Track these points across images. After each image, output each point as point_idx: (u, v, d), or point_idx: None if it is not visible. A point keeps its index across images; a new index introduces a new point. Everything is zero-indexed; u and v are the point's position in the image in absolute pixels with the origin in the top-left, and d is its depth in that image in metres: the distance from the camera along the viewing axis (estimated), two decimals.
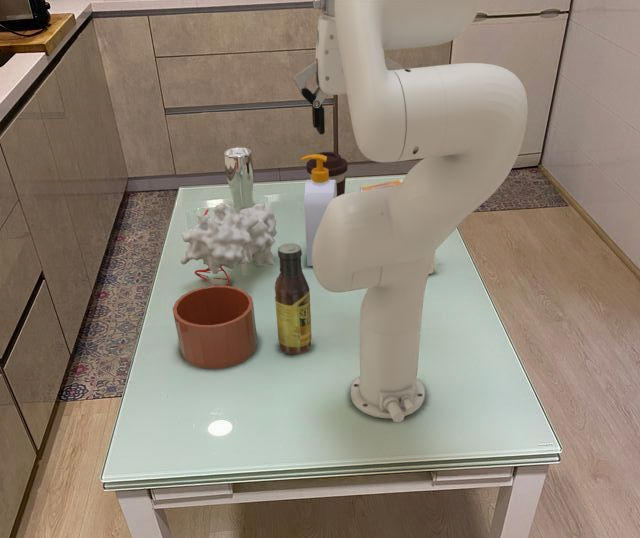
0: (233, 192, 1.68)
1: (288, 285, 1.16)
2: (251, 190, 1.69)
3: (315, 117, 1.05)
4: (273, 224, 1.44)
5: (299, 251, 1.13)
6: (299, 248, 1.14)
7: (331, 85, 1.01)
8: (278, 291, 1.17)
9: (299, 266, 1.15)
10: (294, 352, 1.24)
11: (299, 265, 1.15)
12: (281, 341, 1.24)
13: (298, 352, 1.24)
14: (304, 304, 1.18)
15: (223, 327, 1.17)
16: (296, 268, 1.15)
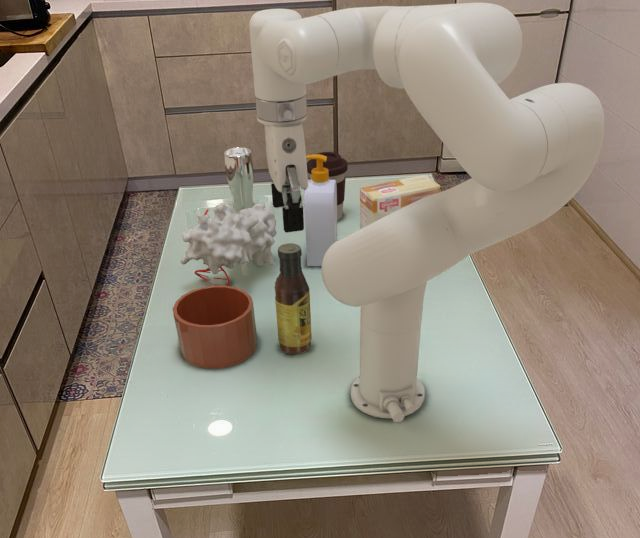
0: (233, 192, 1.68)
1: (288, 285, 1.16)
2: (251, 190, 1.69)
3: (298, 217, 1.05)
4: (273, 224, 1.44)
5: (299, 251, 1.13)
6: (299, 248, 1.14)
7: None
8: (278, 291, 1.17)
9: (299, 266, 1.15)
10: (294, 352, 1.24)
11: (299, 265, 1.15)
12: (281, 341, 1.24)
13: (298, 352, 1.24)
14: (304, 304, 1.18)
15: (223, 327, 1.17)
16: (296, 268, 1.15)
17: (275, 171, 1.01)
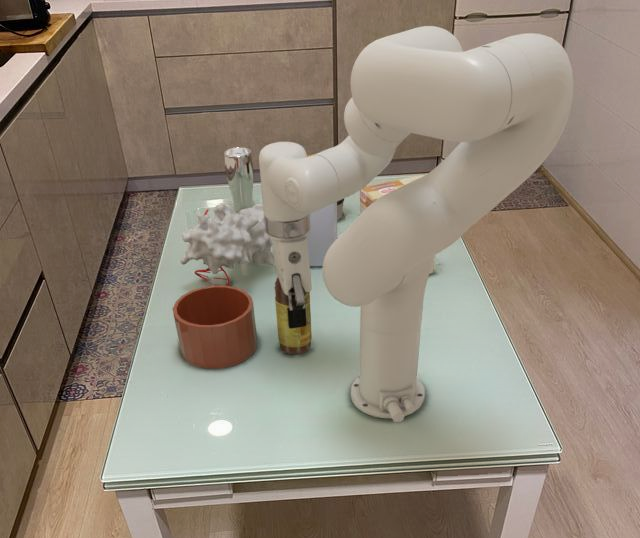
0: (233, 192, 1.68)
1: None
2: (251, 190, 1.69)
3: (302, 316, 1.18)
4: None
5: None
6: None
7: None
8: (278, 291, 1.17)
9: None
10: (294, 352, 1.24)
11: None
12: (281, 341, 1.24)
13: (298, 352, 1.24)
14: None
15: (223, 327, 1.17)
16: None
17: (282, 278, 1.13)
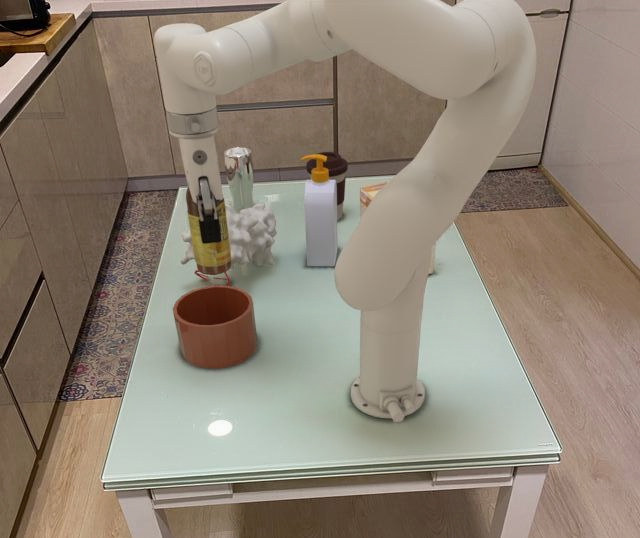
0: (233, 192, 1.68)
1: (198, 194, 1.06)
2: (251, 190, 1.69)
3: (214, 229, 1.08)
4: (273, 224, 1.44)
5: None
6: None
7: None
8: (188, 200, 1.07)
9: None
10: (211, 272, 1.14)
11: None
12: (197, 260, 1.13)
13: (215, 273, 1.14)
14: (218, 216, 1.08)
15: (223, 327, 1.17)
16: None
17: (189, 182, 1.02)
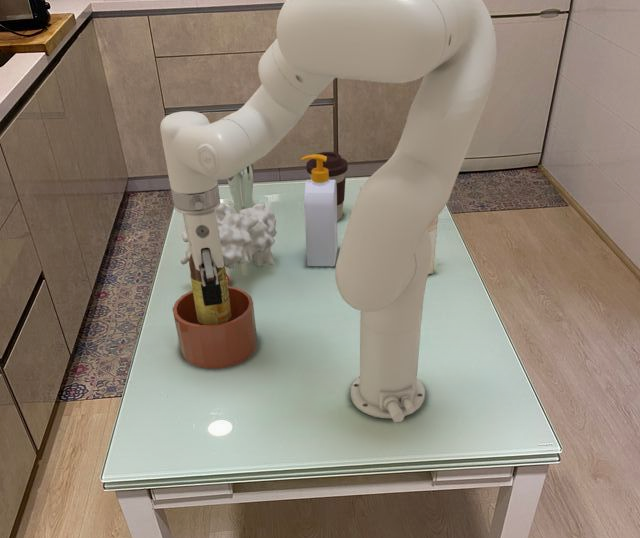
0: (233, 192, 1.68)
1: None
2: (251, 190, 1.69)
3: (216, 293, 1.15)
4: (273, 224, 1.44)
5: None
6: None
7: None
8: (191, 267, 1.15)
9: None
10: None
11: None
12: (199, 319, 1.21)
13: None
14: (219, 281, 1.16)
15: (223, 327, 1.17)
16: None
17: (192, 253, 1.10)
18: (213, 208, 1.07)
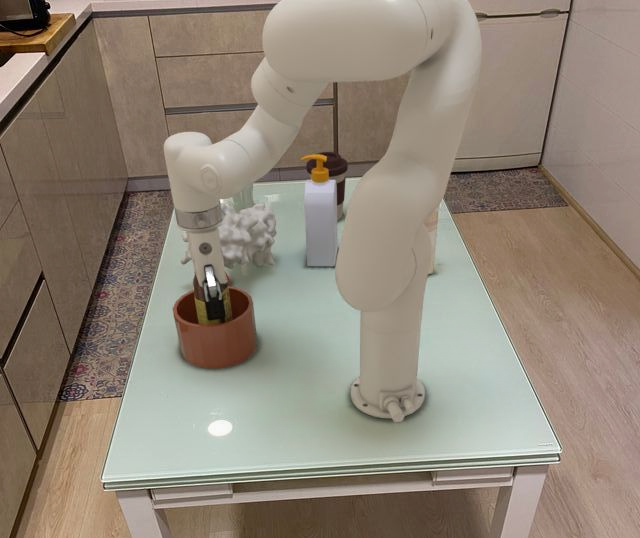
0: None
1: None
2: (251, 190, 1.69)
3: (219, 308, 1.16)
4: (273, 224, 1.44)
5: None
6: None
7: None
8: (195, 287, 1.17)
9: None
10: None
11: None
12: None
13: None
14: None
15: (223, 327, 1.17)
16: None
17: (195, 269, 1.12)
18: (216, 226, 1.09)
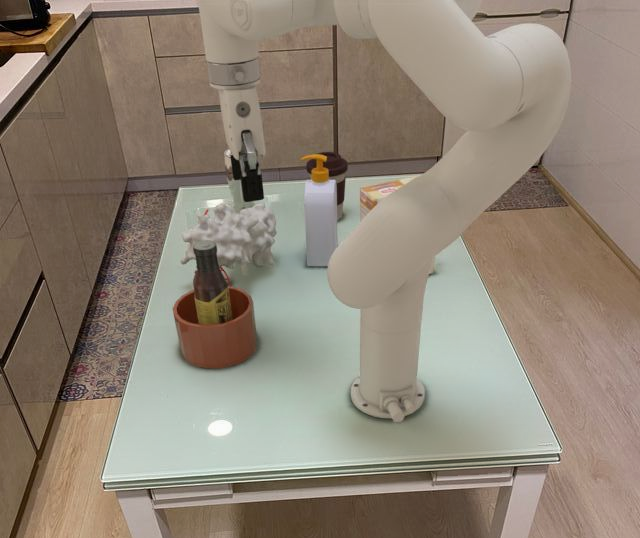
0: (233, 192, 1.68)
1: (204, 282, 1.16)
2: None
3: (257, 185, 1.02)
4: (273, 224, 1.44)
5: (213, 248, 1.14)
6: (214, 245, 1.14)
7: None
8: (195, 287, 1.17)
9: (215, 263, 1.15)
10: None
11: (215, 262, 1.15)
12: None
13: None
14: (222, 301, 1.19)
15: (223, 327, 1.17)
16: (212, 265, 1.15)
17: (231, 137, 0.99)
18: (254, 83, 0.96)
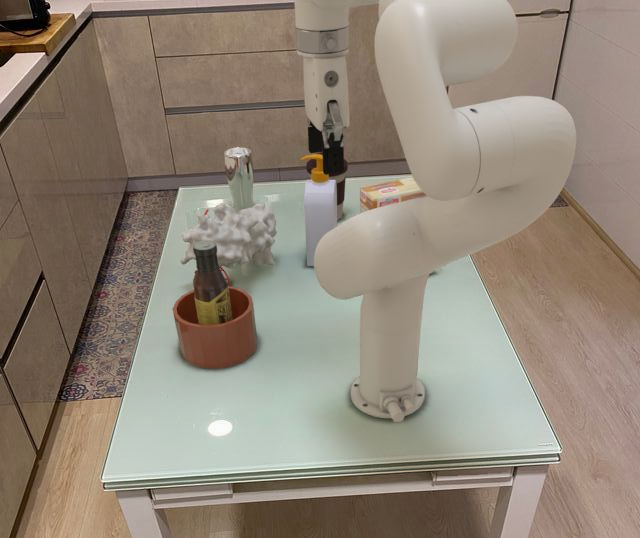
0: (233, 192, 1.68)
1: (204, 282, 1.16)
2: (251, 190, 1.69)
3: (339, 158, 1.01)
4: (273, 224, 1.44)
5: (213, 248, 1.14)
6: (214, 245, 1.14)
7: None
8: (195, 287, 1.17)
9: (215, 263, 1.15)
10: None
11: (215, 262, 1.15)
12: None
13: None
14: (222, 301, 1.19)
15: (223, 327, 1.17)
16: (212, 265, 1.15)
17: (316, 107, 0.97)
18: (343, 52, 0.94)
